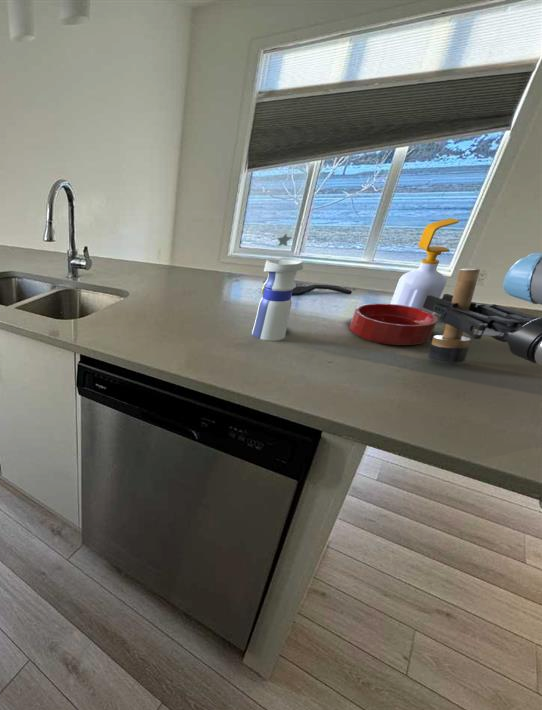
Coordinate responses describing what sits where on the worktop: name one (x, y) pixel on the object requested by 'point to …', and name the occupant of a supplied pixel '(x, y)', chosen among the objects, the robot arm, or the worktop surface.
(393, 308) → the red bowl
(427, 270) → the soap bottle
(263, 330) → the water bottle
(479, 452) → the worktop surface
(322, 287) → the hairbrush
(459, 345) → the dish brush
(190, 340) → the worktop surface
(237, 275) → the worktop surface
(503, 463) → the worktop surface
